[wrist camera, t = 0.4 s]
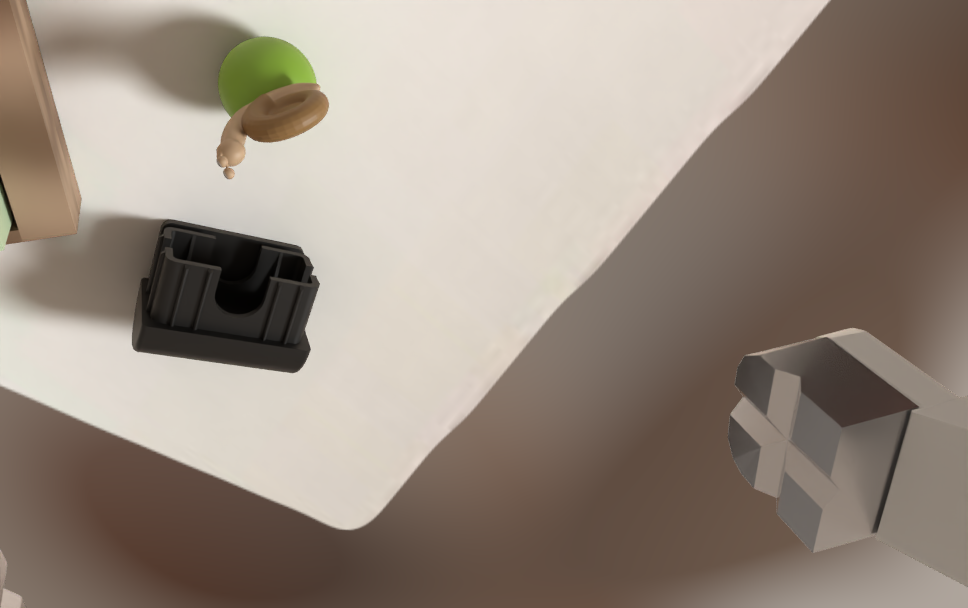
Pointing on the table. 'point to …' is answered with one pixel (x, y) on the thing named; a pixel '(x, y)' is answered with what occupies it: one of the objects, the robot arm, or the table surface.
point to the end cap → (225, 299)
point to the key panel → (32, 137)
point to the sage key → (4, 218)
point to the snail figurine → (266, 96)
